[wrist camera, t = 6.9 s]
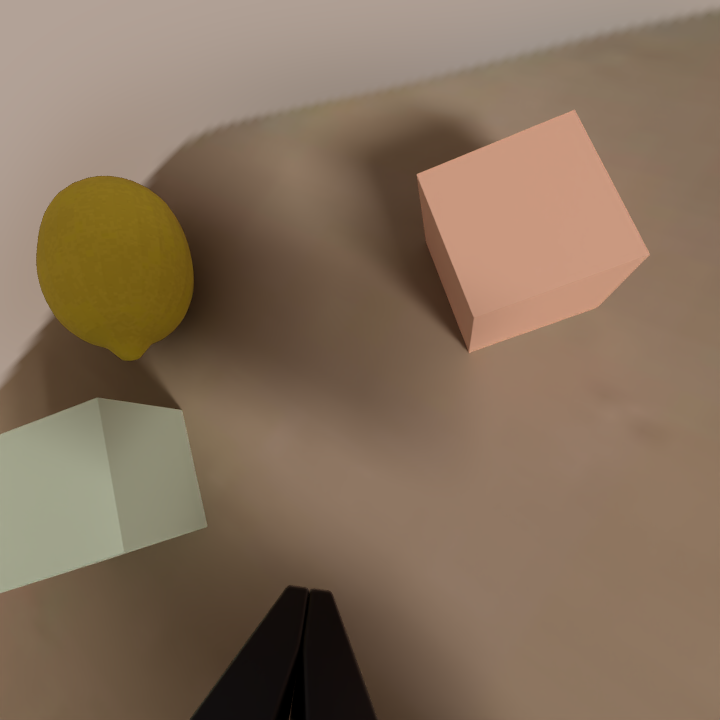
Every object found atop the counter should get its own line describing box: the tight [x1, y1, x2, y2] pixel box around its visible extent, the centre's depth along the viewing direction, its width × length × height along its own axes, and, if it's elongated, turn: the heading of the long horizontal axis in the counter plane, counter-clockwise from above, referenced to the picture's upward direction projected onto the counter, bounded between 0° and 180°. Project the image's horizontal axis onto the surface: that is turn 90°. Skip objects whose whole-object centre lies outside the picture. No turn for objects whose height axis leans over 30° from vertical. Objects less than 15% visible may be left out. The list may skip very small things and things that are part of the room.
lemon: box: [36, 176, 194, 361], centre depth 19 cm, size 6×6×8 cm
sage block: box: [0, 397, 208, 593], centre depth 17 cm, size 5×5×5 cm
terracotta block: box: [417, 110, 650, 353], centre depth 16 cm, size 5×5×5 cm
